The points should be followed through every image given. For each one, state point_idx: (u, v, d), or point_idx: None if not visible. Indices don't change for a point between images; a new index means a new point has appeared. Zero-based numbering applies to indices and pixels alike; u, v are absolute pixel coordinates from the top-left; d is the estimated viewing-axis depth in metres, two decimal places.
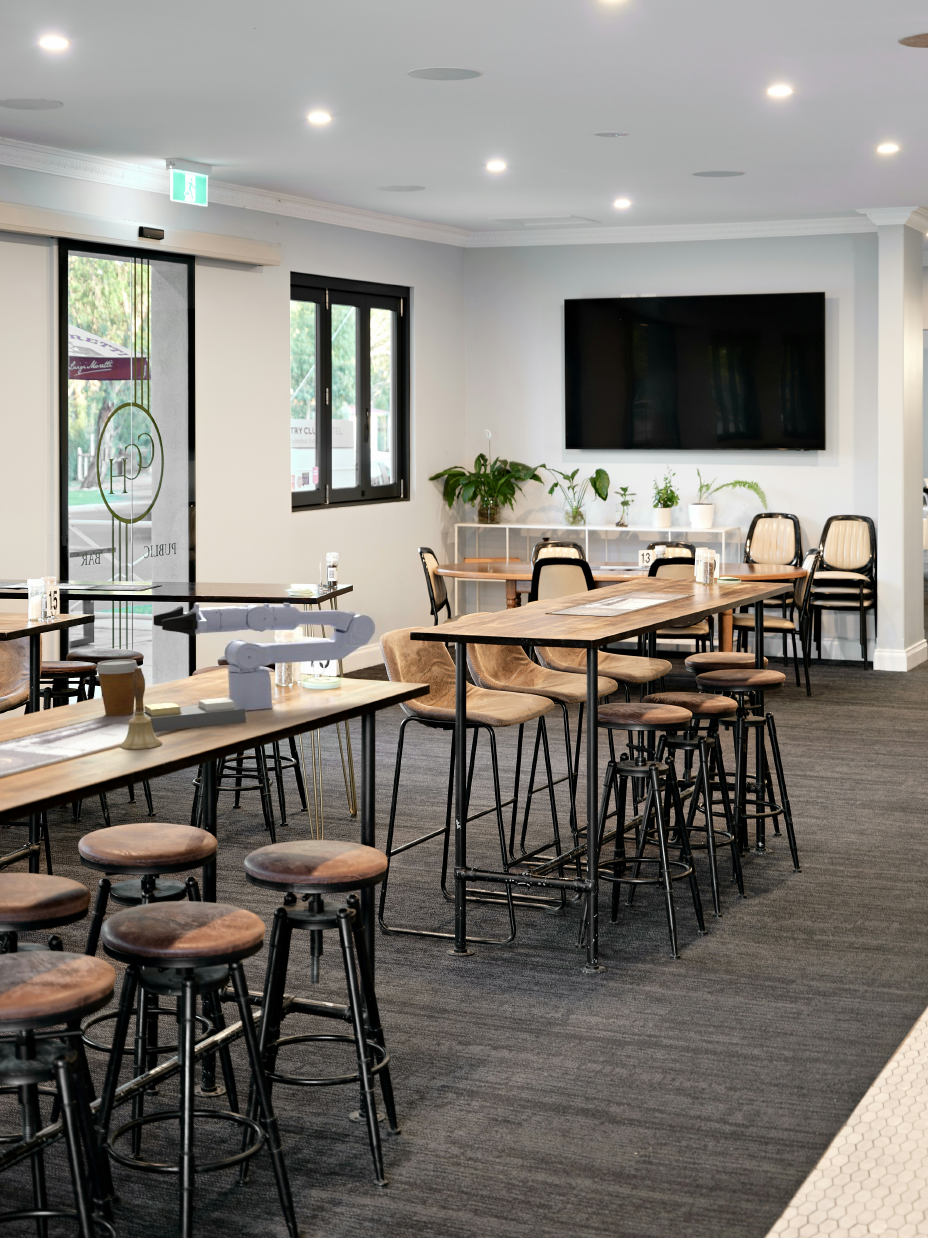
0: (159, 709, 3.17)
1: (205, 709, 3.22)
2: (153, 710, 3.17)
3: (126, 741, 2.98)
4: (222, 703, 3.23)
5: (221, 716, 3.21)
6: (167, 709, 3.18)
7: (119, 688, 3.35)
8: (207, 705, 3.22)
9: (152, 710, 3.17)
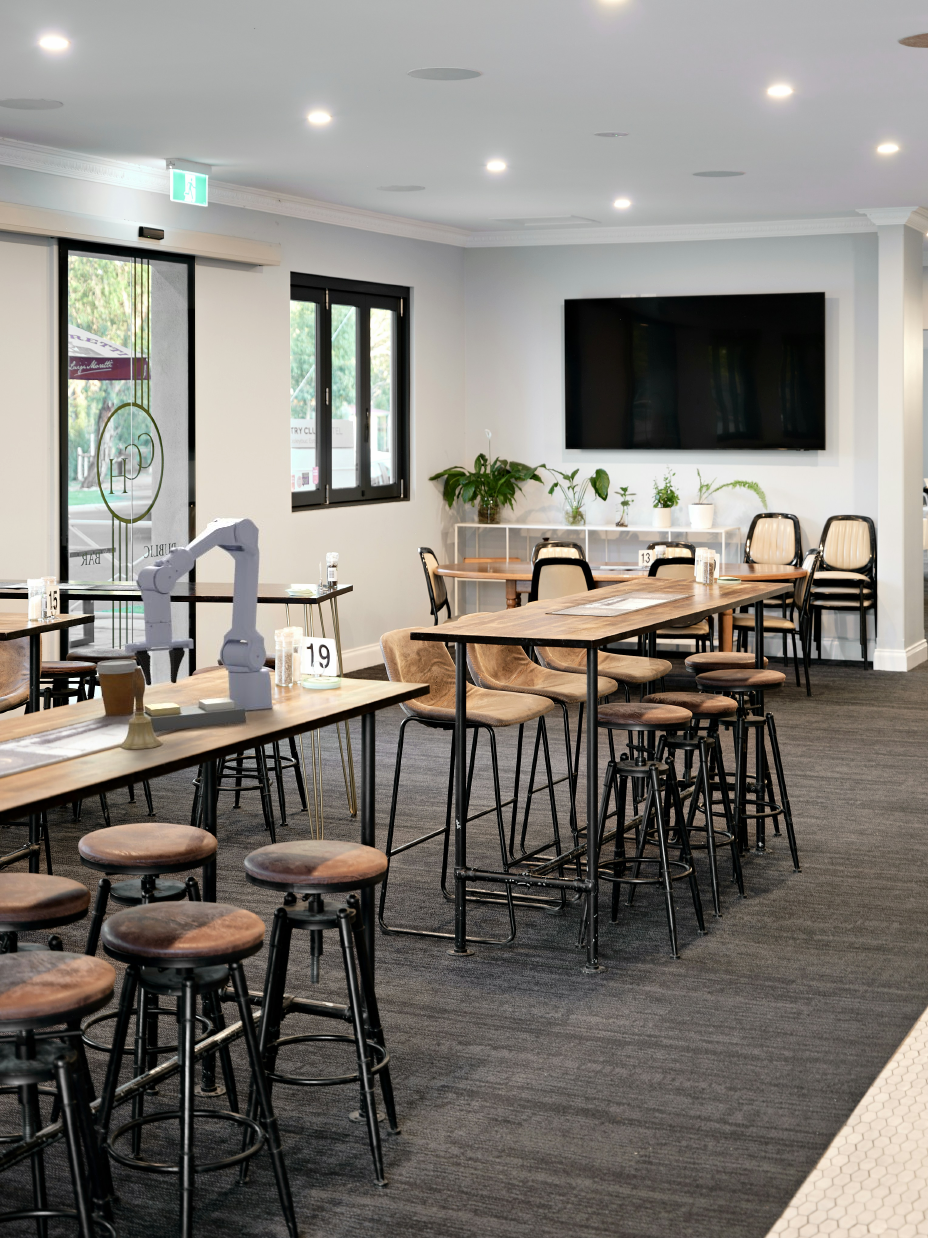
0: (159, 709, 3.17)
1: (205, 709, 3.22)
2: (153, 710, 3.17)
3: (126, 741, 2.98)
4: (222, 703, 3.23)
5: (221, 716, 3.21)
6: (167, 709, 3.18)
7: (119, 688, 3.35)
8: (207, 705, 3.22)
9: (152, 710, 3.17)
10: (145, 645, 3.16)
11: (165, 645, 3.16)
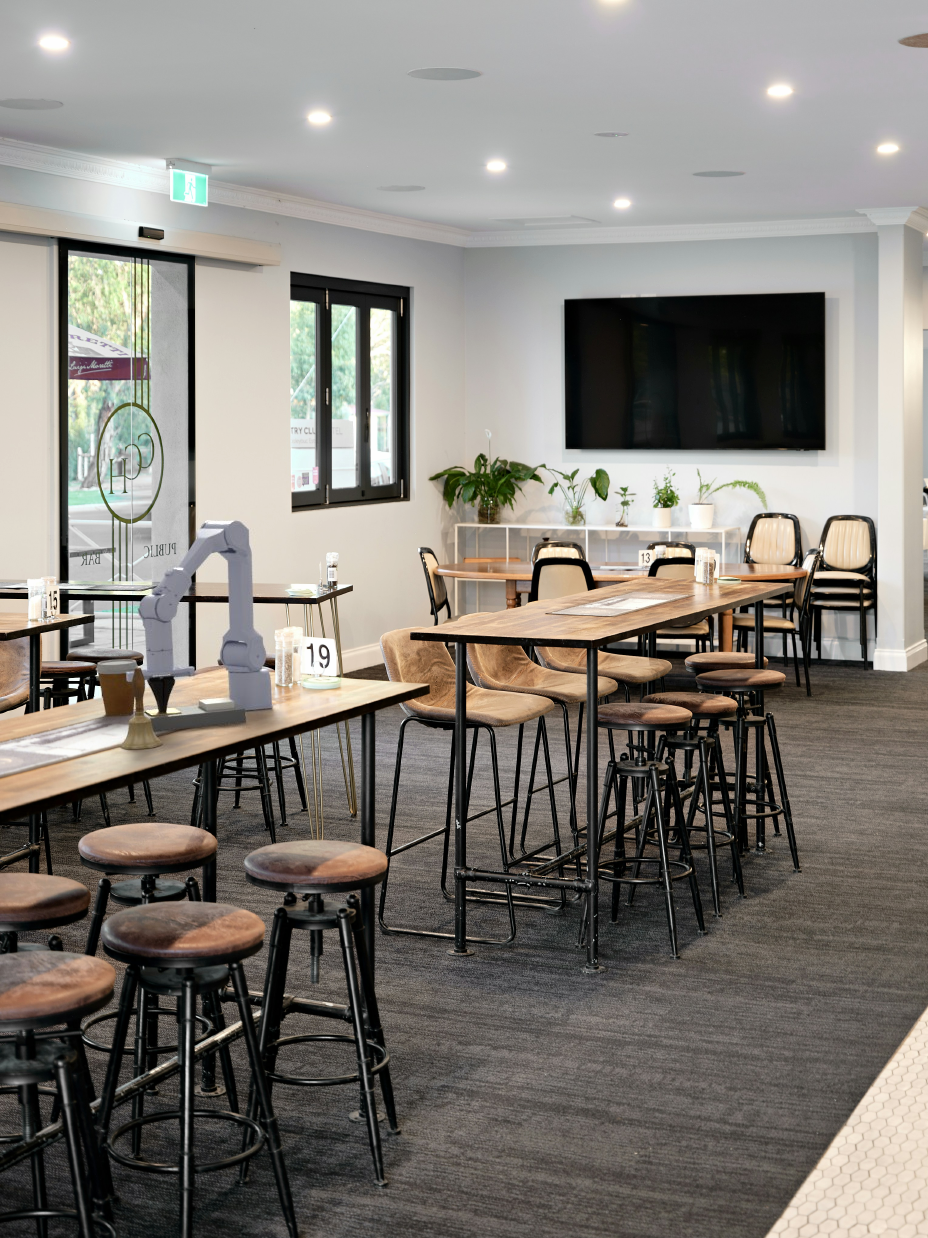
0: (159, 714, 3.18)
1: (205, 709, 3.22)
2: (153, 715, 3.17)
3: (126, 741, 2.98)
4: (222, 703, 3.23)
5: (221, 716, 3.21)
6: (167, 714, 3.18)
7: (119, 688, 3.35)
8: (207, 705, 3.22)
9: (152, 715, 3.17)
10: (146, 673, 3.17)
11: (166, 673, 3.16)
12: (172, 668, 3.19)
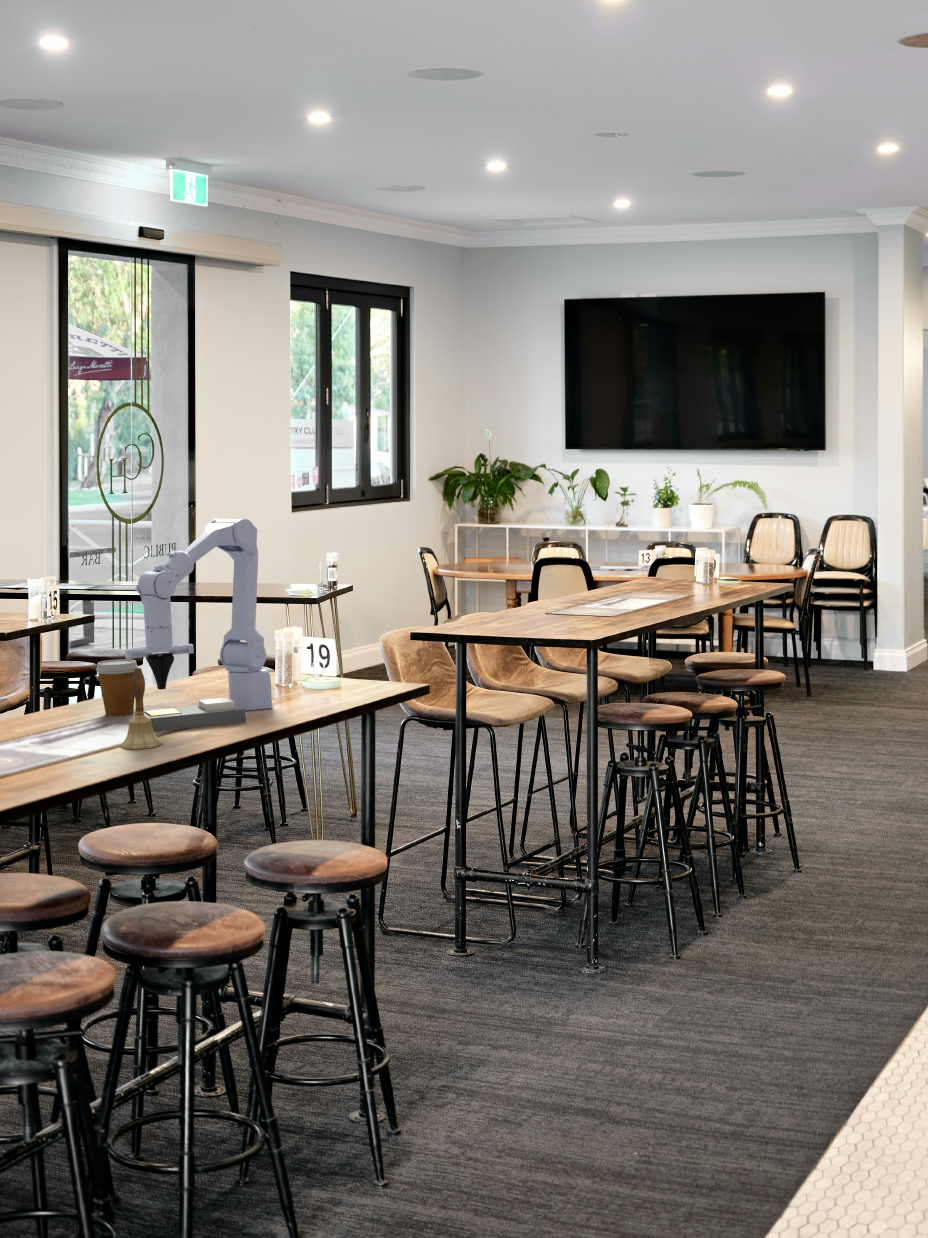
0: (159, 715, 3.18)
1: (205, 709, 3.22)
2: None
3: (126, 741, 2.98)
4: (222, 703, 3.23)
5: (221, 716, 3.21)
6: None
7: (119, 688, 3.35)
8: (207, 705, 3.22)
9: (152, 716, 3.17)
10: (145, 650, 3.16)
11: (165, 650, 3.16)
12: (171, 645, 3.19)
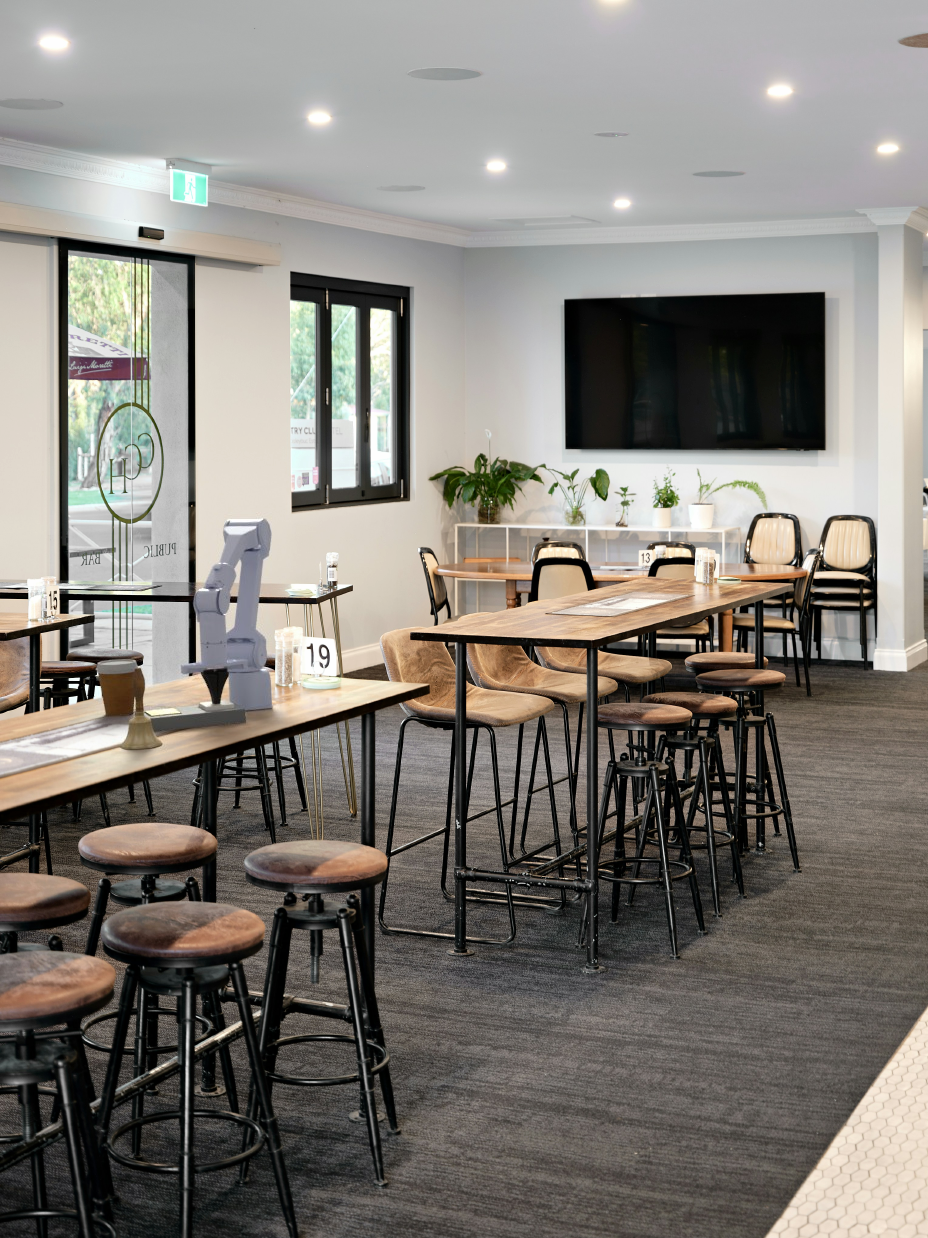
0: (159, 715, 3.18)
1: None
2: None
3: (126, 741, 2.98)
4: (222, 706, 3.23)
5: (221, 716, 3.21)
6: None
7: (119, 688, 3.35)
8: (207, 708, 3.22)
9: (152, 716, 3.17)
10: (201, 666, 3.22)
11: (221, 666, 3.21)
12: (226, 661, 3.24)
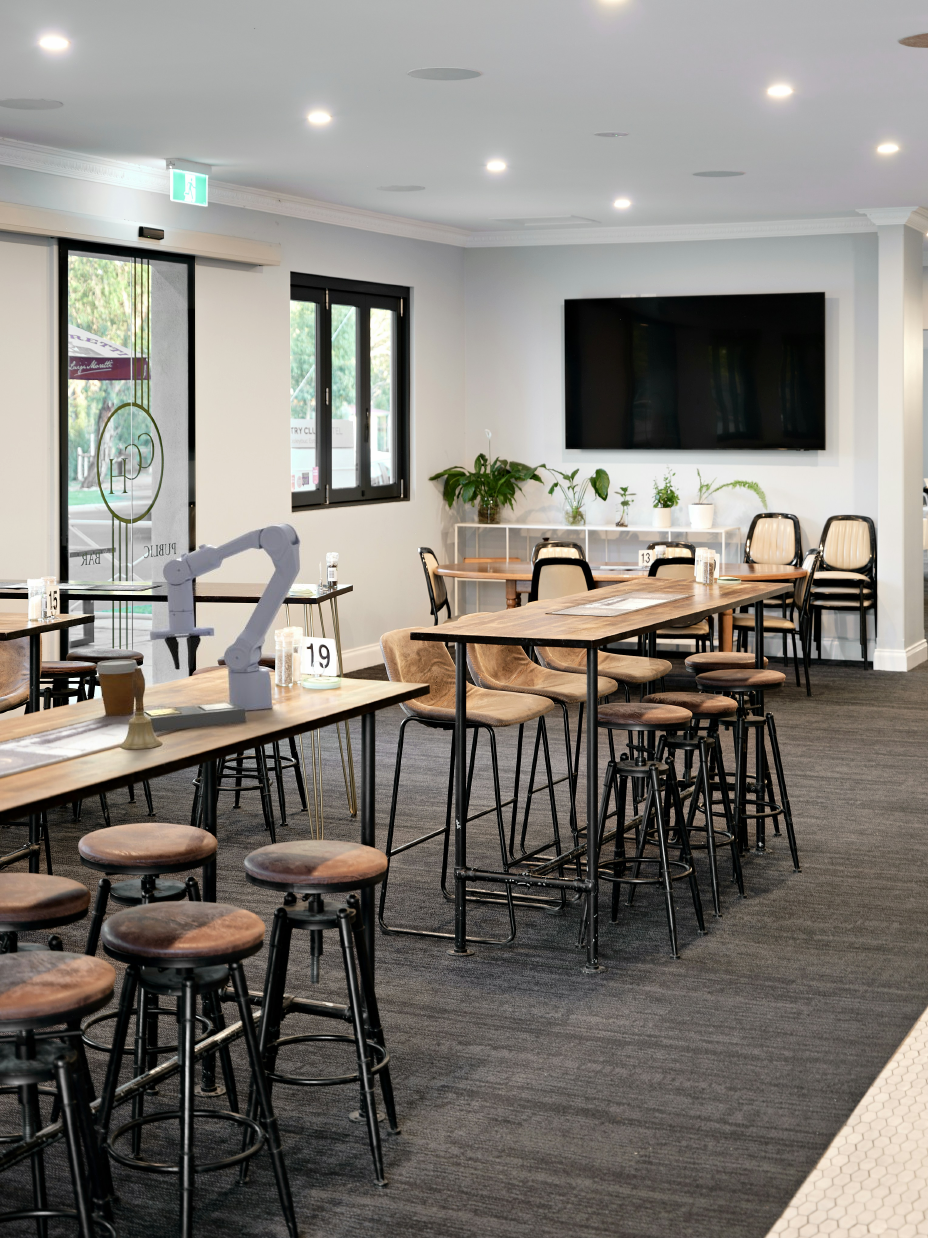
0: (159, 715, 3.18)
1: None
2: None
3: (126, 741, 2.98)
4: (222, 709, 3.23)
5: (221, 716, 3.21)
6: None
7: (119, 688, 3.35)
8: None
9: (152, 716, 3.17)
10: (168, 632, 3.38)
11: (187, 632, 3.38)
12: (193, 628, 3.41)
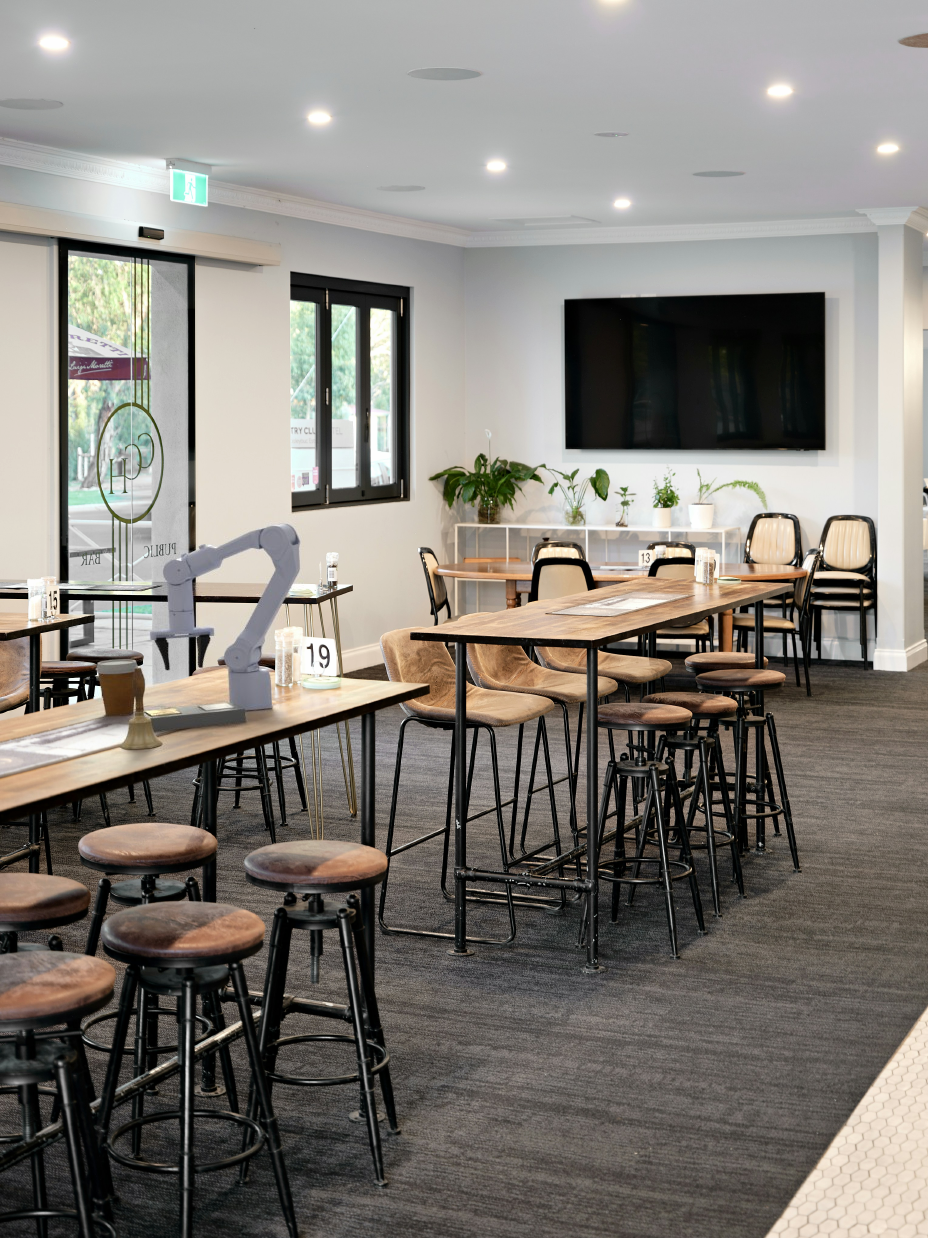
0: (159, 715, 3.18)
1: None
2: None
3: (126, 741, 2.98)
4: (222, 709, 3.23)
5: (221, 716, 3.21)
6: None
7: (119, 688, 3.35)
8: None
9: (152, 716, 3.17)
10: (168, 632, 3.38)
11: (187, 632, 3.38)
12: (193, 628, 3.41)
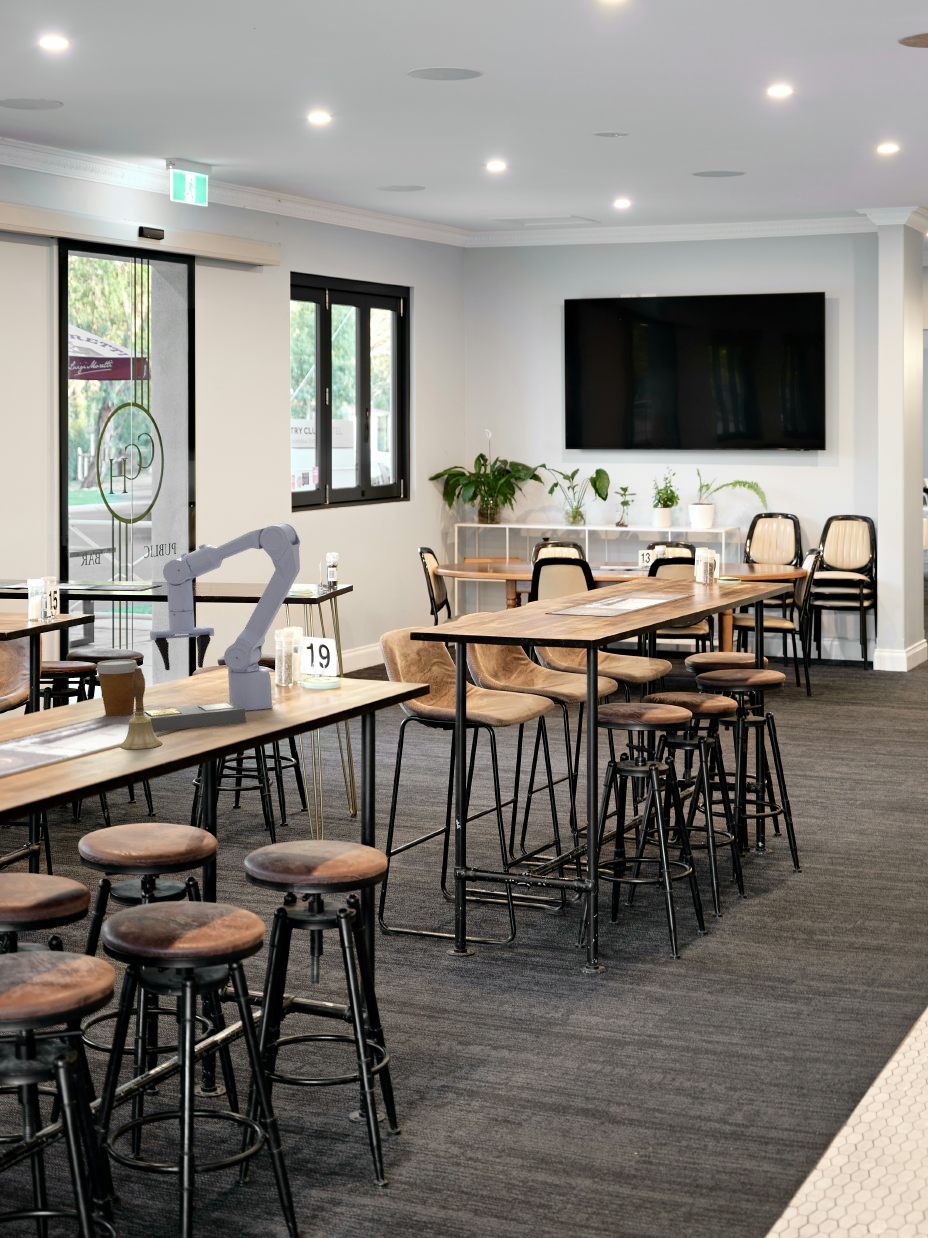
0: (159, 715, 3.18)
1: None
2: None
3: (126, 741, 2.98)
4: (222, 709, 3.23)
5: (221, 716, 3.21)
6: None
7: (119, 688, 3.35)
8: None
9: (152, 716, 3.17)
10: (168, 632, 3.38)
11: (187, 632, 3.38)
12: (193, 628, 3.41)
